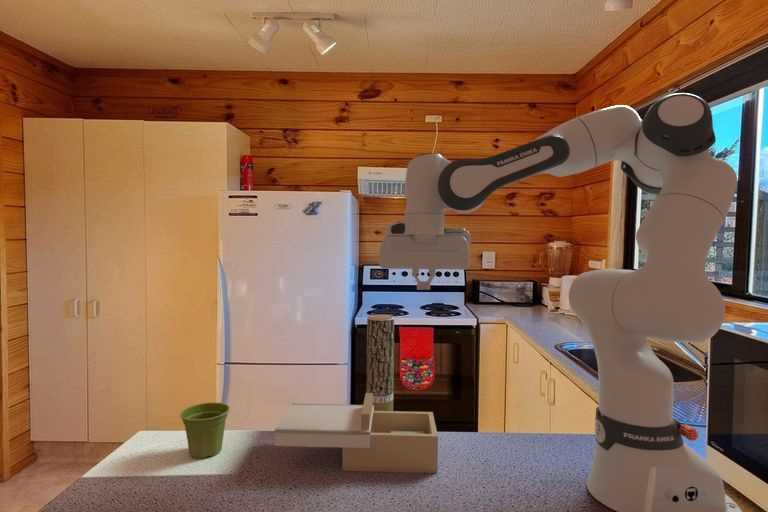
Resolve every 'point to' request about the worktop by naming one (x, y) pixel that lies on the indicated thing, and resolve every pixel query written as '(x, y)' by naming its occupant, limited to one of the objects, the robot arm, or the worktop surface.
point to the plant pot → (205, 428)
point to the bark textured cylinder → (380, 360)
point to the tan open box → (397, 444)
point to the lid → (326, 425)
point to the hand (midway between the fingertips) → (423, 289)
